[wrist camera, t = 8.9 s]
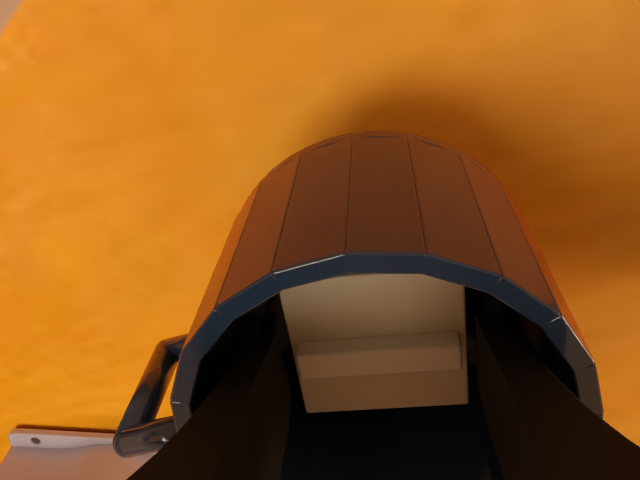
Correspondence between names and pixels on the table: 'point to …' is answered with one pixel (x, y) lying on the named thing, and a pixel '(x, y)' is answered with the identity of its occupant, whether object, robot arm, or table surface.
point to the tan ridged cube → (378, 341)
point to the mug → (368, 257)
